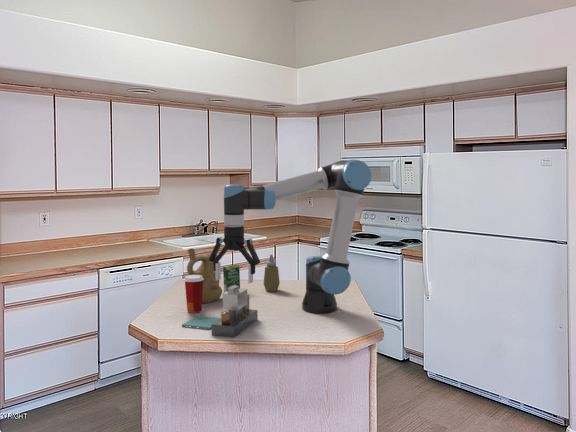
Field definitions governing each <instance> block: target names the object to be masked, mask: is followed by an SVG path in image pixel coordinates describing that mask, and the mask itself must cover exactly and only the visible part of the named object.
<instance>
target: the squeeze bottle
mask: <svg viewBox="0 0 576 432" xmlns="http://www.w3.org/2000/svg"><path fill="white" fill-rule="evenodd" d="M279 273H280V271H279V267H278V266H277V262H276V261H275V259H274V256H273V254H270V255H269V259H268V261H267V262H266V266H265V267H264V273H263V274H264V275H263V286H264V288H265V291H266V292H270V293H271V292H272V293H273V292H277V291H278V290H279V287H280V283H281V282H280V274H279Z"/></svg>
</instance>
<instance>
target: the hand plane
mask: <svg viewBox="0 0 576 432" xmlns="http://www.w3.org/2000/svg"><path fill="white" fill-rule="evenodd" d="M220 316H221V317H220V318H221V319H219V320H218V321H216V322H214V323H213V324H211V325H212V329H211V336H218V337H225V338H235V337H237V336H239V335H240V334H241V333H242V332H244V331H245V330H246V329H247V328H249V327H251V326H252V325H253V324H254V323H256V321H258V320H259V319H258V309H250V294H247V305H245V306H244V307H242V308H241V309H239V310H238V311H237V310H227V311H222V312H221V313H220Z"/></svg>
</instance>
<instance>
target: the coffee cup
mask: <svg viewBox="0 0 576 432" xmlns="http://www.w3.org/2000/svg"><path fill="white" fill-rule="evenodd" d="M203 280H204V279H203V277H202V275H189V274H188V275H186V276H185V277H184V279H183V281H184V287H185V288H184V289H185V298H186V299H185V300H186V306H187V307H186V311H187V312H188V313H189V312H192V313H191V314H195V313H194V312H198V313H201V312H202V311H201V310H202V308H203V303H202V292H203ZM200 311H201V312H200Z"/></svg>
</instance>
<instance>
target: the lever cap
mask: <svg viewBox="0 0 576 432" xmlns="http://www.w3.org/2000/svg"><path fill="white" fill-rule="evenodd" d="M247 295H248V289H247V288H241V287H240V288H239V286H236V285H233V286H231V287H229V288H228V291H227V292H222V310H227V311H228V310H237V311H238V310H239V309H241V308H242V307H244V306H245V305H247Z"/></svg>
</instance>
